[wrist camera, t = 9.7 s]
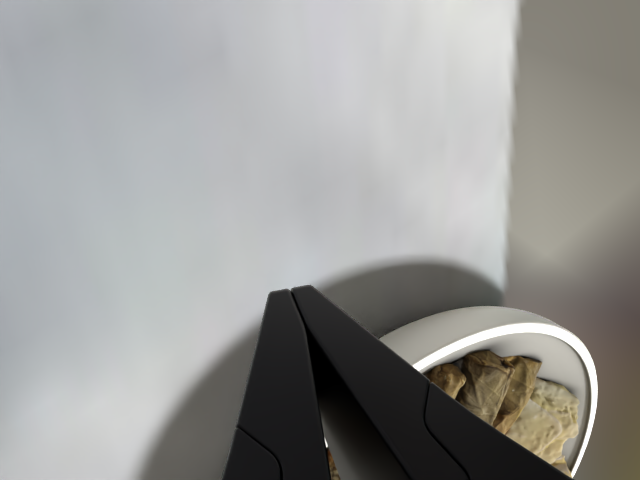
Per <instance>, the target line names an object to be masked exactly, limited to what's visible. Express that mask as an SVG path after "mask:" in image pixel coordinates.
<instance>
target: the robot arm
mask: <svg viewBox="0 0 640 480" xmlns="http://www.w3.org/2000/svg"><path fill="white" fill-rule="evenodd" d="M325 439H326V442H327V445H328V447H329V450H330V452H331V455H332V458H333V460H334V463H335V466H336V468H337V471H338V474H339V476H340V479H341V480H574V479H573V478H571V477H569V476H568V475H566V474H565V473H563V472H562V471H560V470H558V469H557V468H555V467H554V466H552V465H551V464H549V463H548V462H546V461H545V460H543V459H542V458H540V457H538V456H537V455H535V454H534V453H532V452H531V451H529V450H528V449H526V448H525V447H523V446H522V445H520V444H518V443H517V442H515V441H514V440H512V439H511V438H509V437H508V436H506V435H505V434H503V433H501V432H500V431H498V430H497V429H496V428H494V427H493V426H491V425H490V424H488V423H487V422H485V421H484V420H482V419H481V418H479V417H478V416H476V415H475V414H474V413H472V412H471V411H469V410H468V409H467V408H465V407H464V406H463V405H462V404H460V403H459V402H458V401H456V400H455V399H454V398H452V397H451V396H450V395H448V394H447V393H446V392H445V391H443V390H442V389H441V388H440V387H438V386H437V385H436V384H434V383H433V382H431V383H430V380H429V379H428V378H427V377H425V376H424V375H423V374H422V373H420V372H419V371H418V370H417V369H415V368H414V367H413V366H412V365H410V364H409V363H408V362H407V361H405V360H404V359H403V358H402V357H400V356H399V355H398V354H397V353H395V352H394V351H393V350H392V349H390V348H389V347H388V346H387V345H385V344H384V343H383V342H382V341H380V340H379V339H378V338H377V337H375V336H374V335H373V334H372V333H370V332H369V331H368V330H367V329H365V328H364V327H363V326H362V325H360V324H359V323H358V322H357V321H355V320H354V319H353V318H352V317H350V316H349V315H348V314H347V313H345V312H344V311H343V310H342V309H340V308H339V307H338V306H337V305H335V304H334V303H333V302H332V301H330V300H329V299H328V298H327V297H325V296H324V295H323V294H321V293H320V292H319V291H318V290H316V289H315V288H314V287H313V286H311V285H305V286H300V287H294V288H292V289H291V291H290V290H289V289H283V290H277V291H272V292H270V293H269V295H268V298H267V302H266V307H265V311H264V315H263V319H262V323H261V327H260V331H259V335H258V339H257V343H256V347H255V351H254V355H253V359H252V363H251V367H250V371H249V375H248V379H247V383H246V387H245V391H244V395H243V399H242V403H241V407H240V411H239V415H238V419H237V423H236V429H235V431H234V434H233V438H232V442H231V446H230V450H229V454H228V457H227V461H226V464H225V468H224V471H223V474H222V478H221V480H332V479H331V473H330V467H329V461H328V455H327V449H326V443H325Z"/></svg>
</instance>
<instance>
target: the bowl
mask: <svg viewBox="0 0 640 480" xmlns="http://www.w3.org/2000/svg"><path fill="white" fill-rule="evenodd" d="M379 340H380V341H382V342H383V343H384V344H385V345H387V346H388V347H389V348H390V349H392V350H393V351H394V352H395V353H397V354H398V355H399V356H400V357H402V358H403V359H404V360H405V361H407V362H408V363H409V364H410V365H412V366H413V367H414V368H415V369H417V370H418V371H419V372H420V373H422V374H423V375H424V376H425V377H427V378H428V379H429V380H430V383H431V382H433V383H434V384H436V385H437V386H438V387H440V388H441V389H442V390H443V391H445V392H446V393H447V394H448V395H450V396H451V397H452V398H454V399H455V400H456V401H458V402H459V403H460V404H462V405H463V406H464V407H465V408H467V409H468V410H469V411H471V412H472V413H474V414H475V415H476V416H478V417H479V418H481V419H482V420H484V421H485V422H487V423H488V424H490V425H491V426H493V427H494V428H496V429H497V430H498V431H500V432H501V433H503V434H505V435H506V436H508V437H509V438H511V439H512V440H514V441H515V442H517V443H518V444H520V445H522V446H523V447H525V448H526V449H528V450H529V451H531V452H532V453H534V454H535V455H537V456H538V457H540V458H542V459H543V460H545V461H546V462H548V463H549V464H551V465H552V466H554V467H555V468H557V469H558V470H560V471H562V472H563V473H565V474H566V475H568V476H569V477H571V478H573V476H574V474H575V472H576V470H577V468H578V465H579V463H580V461H581V458H582V456H583V454H584V451H585V448H586V446H587V442H588V440H589V437H590V433H591V430H592V426H593V421H594V417H595V411H596V405H597V377H596V371H595V366H594V364H593V360H592V358H591V355H590V353H589V352H588V350H587V348H586V347H585V345H584V344H583V343H582V342H581V340H580V339H579V338H578V337H577V336H575V335H574V334H573V333H571V332H570V331H568V330H567V329H565V328H563V327H561V326H560V325H558V324H556V323H554V322H553V321H551V320H549V319H547V318H544V317H542V316H539V315H537V314H534V313H531V312H527V311H524V310H519V309H514V308H508V307H497V306H476V307H466V308H460V309H454V310H449V311H445V312H441V313H437V314H434V315H431V316H428V317H425V318H422V319H419V320H417V321H414V322H412V323H409V324H407V325H405V326H402V327H400V328H398V329H396V330H394V331H392V332H390V333H388V334H386V335H384V336H383V337H381V338H379ZM325 443H326V449H327V455H328V461H329V467H330V473H331V479H332V480H341V479H340V476H339V474H338V471H337V468H336V466H335V463H334V460H333V458H332V455H331V452H330V450H329V447H328V445H327V442H326V439H325Z"/></svg>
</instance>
